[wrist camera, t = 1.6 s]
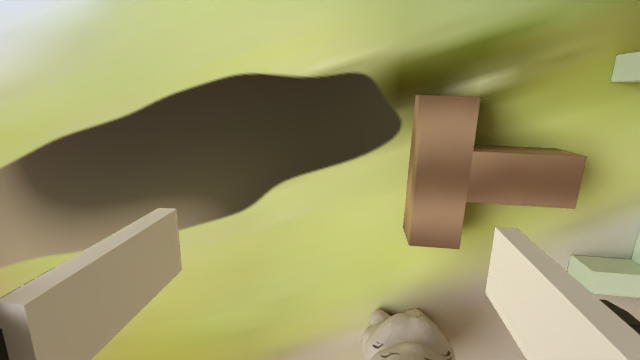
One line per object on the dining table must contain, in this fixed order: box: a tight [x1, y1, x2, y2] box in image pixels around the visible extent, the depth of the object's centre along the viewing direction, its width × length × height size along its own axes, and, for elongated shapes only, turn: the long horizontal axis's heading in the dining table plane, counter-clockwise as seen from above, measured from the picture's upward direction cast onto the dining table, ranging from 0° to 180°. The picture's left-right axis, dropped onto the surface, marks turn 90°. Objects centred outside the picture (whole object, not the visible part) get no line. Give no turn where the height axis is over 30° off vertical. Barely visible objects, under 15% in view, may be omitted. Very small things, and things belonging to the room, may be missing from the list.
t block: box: [403, 95, 586, 249], centre depth 28 cm, size 12×12×4 cm
